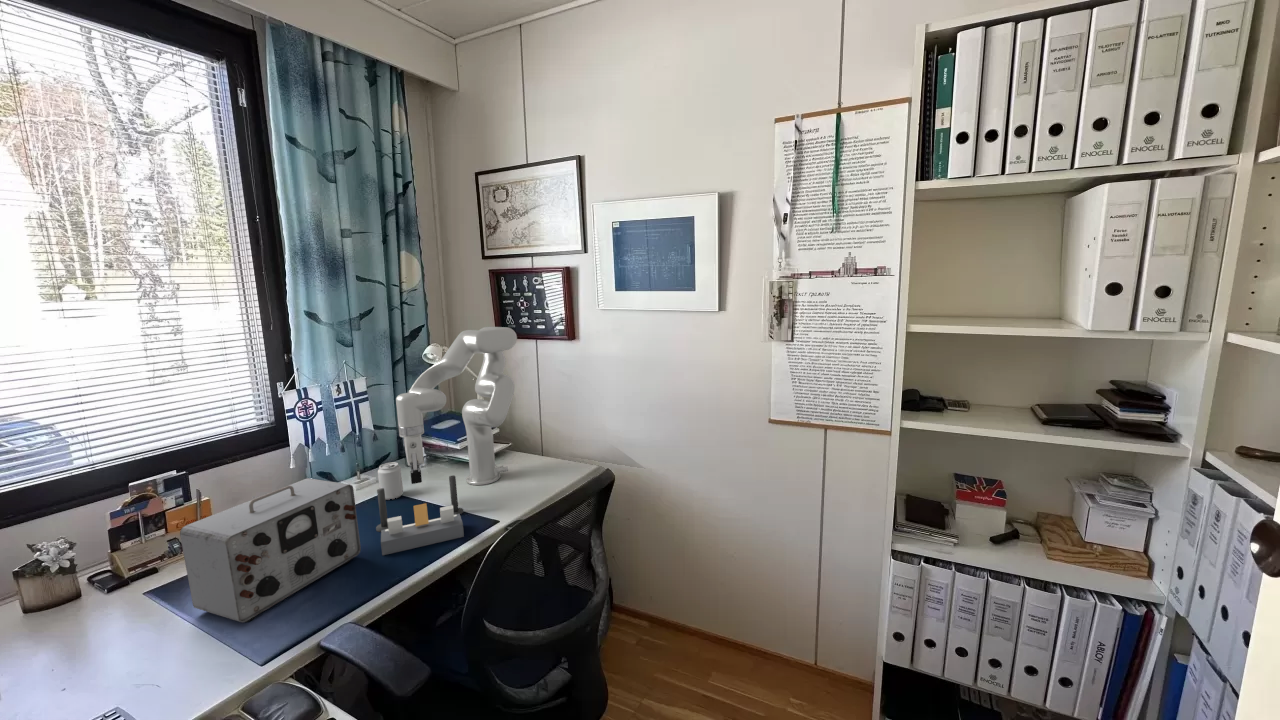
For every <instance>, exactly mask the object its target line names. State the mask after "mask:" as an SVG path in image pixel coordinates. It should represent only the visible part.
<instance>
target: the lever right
mask: <svg viewBox="0 0 1280 720" xmlns="http://www.w3.org/2000/svg"><path fill="white" fill-rule="evenodd" d="M439 513H440V515H439V516H440V518H441V523H446V522H451V521H454V510H453V505H452V504H451V505H448V506H443V507H439Z"/></svg>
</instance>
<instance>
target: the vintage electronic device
mask: <svg viewBox="0 0 1280 720" xmlns="http://www.w3.org/2000/svg"><path fill="white" fill-rule="evenodd" d="M355 498H356V497H355V491H354V487H353V485H352V484H349V483H343V482H342V483H341V482H336V481H329V480H322V479H316V478H315V479H314V478H311V477H310V478H309V477H308V478H304V479H302V480H299V481H297V482H294V483H291V484H288V485H287V486H283V487H280V488H278V489H276V490H273V491H271V492H268V493H265V494H263V495H260V496H258V497H255V498H253V499H250V500H248V501H245V502H242V503H240V504H237V505H234V506H232V507H230V508H227V509H225V510H222V511H220V512H217V513H214V514H212V515H209V516H207V517H204V518H202V519H199V520H196V521H193V522H192V523H188V524H186V525H185V526H183V527H182V528H181V529H180V532H179V536H180V542H181V549H182V552H183V559H184V564H185V568H186V569H185V570H186V575H187V579H188V585H189V591H190V596H191V602H192V606H193V608H194V609H197V610H199V611H200V610H201V611H204V612H207V613H210V614H213V615H217V616H221V617H223V618H227V619H230V620H233V621H236V622H239V623H249V622H251V621H253V620H254V619H255V618H256V617H257V616H258V615H259V614H261V613H263V612H264V611H266V610H268V609H269V608H272V607H273V606H275V605H276V604H278V603H280V602H281V601H283V600H285V599H286V598H287V597H290V596H292V595H293V594H294V593H296V592H298V591H300V590H302V589H303V588H305V587H307V586H309V585H310V584H312V583H313V582H315V581H316V580H318V579H320V578H322V577H324V576H325V575H327V574H328V573H331V572H332V571H333V570H335V569H337V568H338V567H340V566H342V565H346V564H348V563H350V561H351V560H353V559H354V558H356V557H357V556H358V555H359V554H360V553H361V549H362V548H361V547H362V546H361V541H360V533H359V532H360V531H359V524H358V514H357V507H356V499H355Z"/></svg>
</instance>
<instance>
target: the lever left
mask: <svg viewBox="0 0 1280 720" xmlns="http://www.w3.org/2000/svg"><path fill="white" fill-rule="evenodd" d="M387 523H388V529H389V535H391V534H395V533H400V532H403V520H402V515H400V516H399V515H398V516H393V517H389V518H388V519H387Z"/></svg>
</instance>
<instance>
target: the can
mask: <svg viewBox="0 0 1280 720" xmlns="http://www.w3.org/2000/svg"><path fill="white" fill-rule="evenodd" d="M377 479H378V486H379V487H378V489H381V488H384V491H385V500H387V501H390V499H392V500H396V499H398V498H400V497H401V496H402V495H403V494H404V487H403V485H404V484H403V476H402V467H401V466H400V465H399V463H398V462H397V461H396V462H395V461H393V462H385V463H383V464H381V465H379V468H378V470H377ZM395 498H396V499H395Z"/></svg>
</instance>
